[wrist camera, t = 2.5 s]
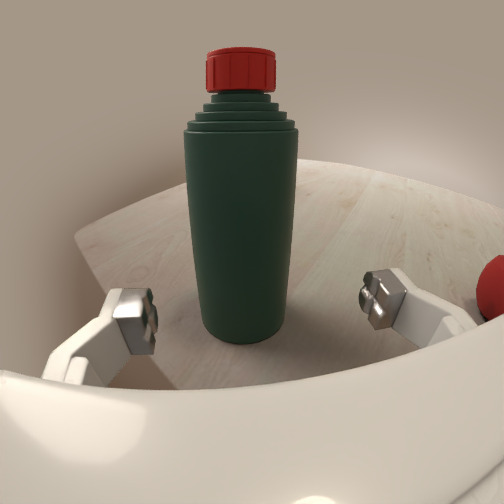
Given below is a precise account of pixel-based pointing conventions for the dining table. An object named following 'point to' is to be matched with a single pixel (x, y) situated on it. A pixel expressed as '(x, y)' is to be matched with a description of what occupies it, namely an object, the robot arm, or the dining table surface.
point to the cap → (241, 69)
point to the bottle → (241, 212)
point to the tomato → (491, 289)
